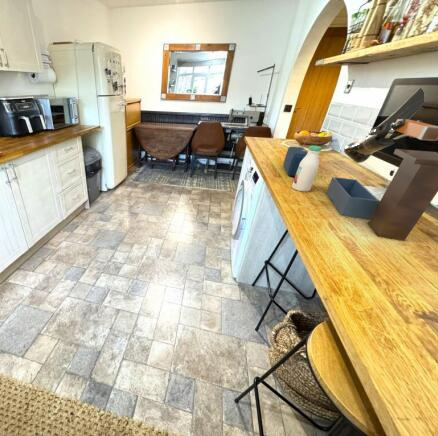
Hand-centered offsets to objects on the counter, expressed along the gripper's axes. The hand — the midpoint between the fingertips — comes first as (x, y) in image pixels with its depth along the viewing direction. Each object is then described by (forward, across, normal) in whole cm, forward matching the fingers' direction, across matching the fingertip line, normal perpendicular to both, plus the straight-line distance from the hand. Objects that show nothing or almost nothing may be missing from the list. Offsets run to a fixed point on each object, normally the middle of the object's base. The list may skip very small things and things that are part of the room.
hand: (411, 122), depth 80 cm
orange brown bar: (+1, 0, +5) cm, 5 cm away
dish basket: (-19, -6, +27) cm, 34 cm away
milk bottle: (-29, -21, +22) cm, 42 cm away
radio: (-52, -21, +9) cm, 57 cm away
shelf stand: (-3, 0, +36) cm, 36 cm away
